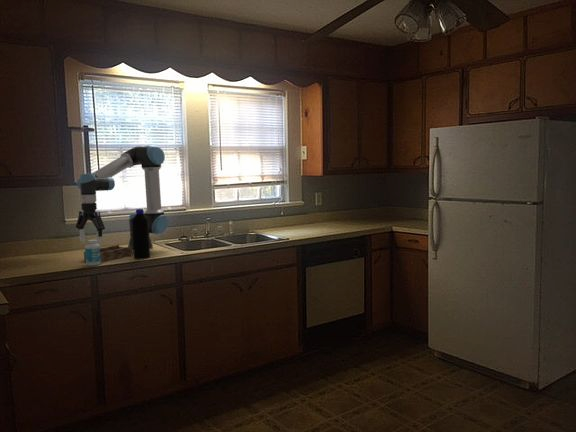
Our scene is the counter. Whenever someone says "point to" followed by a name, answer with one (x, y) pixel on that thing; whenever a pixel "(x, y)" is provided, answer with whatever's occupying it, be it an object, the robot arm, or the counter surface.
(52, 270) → the counter surface
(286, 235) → the counter surface
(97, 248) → the pill bottle
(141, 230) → the bottle
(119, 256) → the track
